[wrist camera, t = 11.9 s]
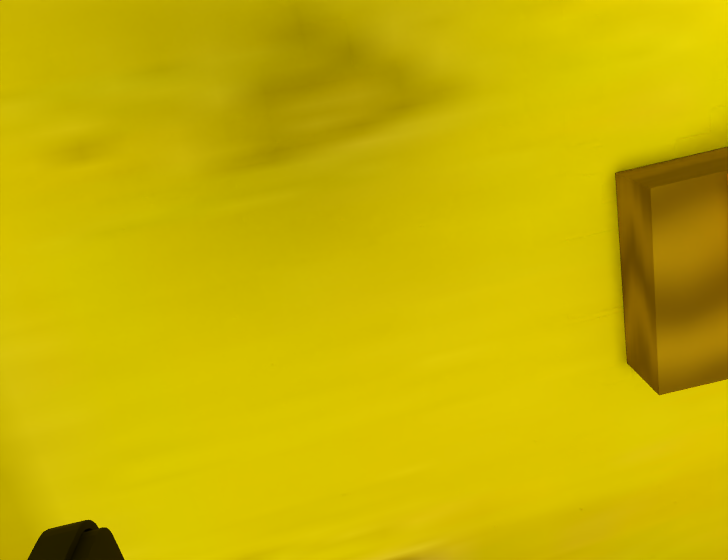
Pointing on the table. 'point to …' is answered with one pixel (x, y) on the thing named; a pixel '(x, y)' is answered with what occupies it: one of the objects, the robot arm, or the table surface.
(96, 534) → the robot arm
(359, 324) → the table surface
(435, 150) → the table surface
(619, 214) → the walnut block
